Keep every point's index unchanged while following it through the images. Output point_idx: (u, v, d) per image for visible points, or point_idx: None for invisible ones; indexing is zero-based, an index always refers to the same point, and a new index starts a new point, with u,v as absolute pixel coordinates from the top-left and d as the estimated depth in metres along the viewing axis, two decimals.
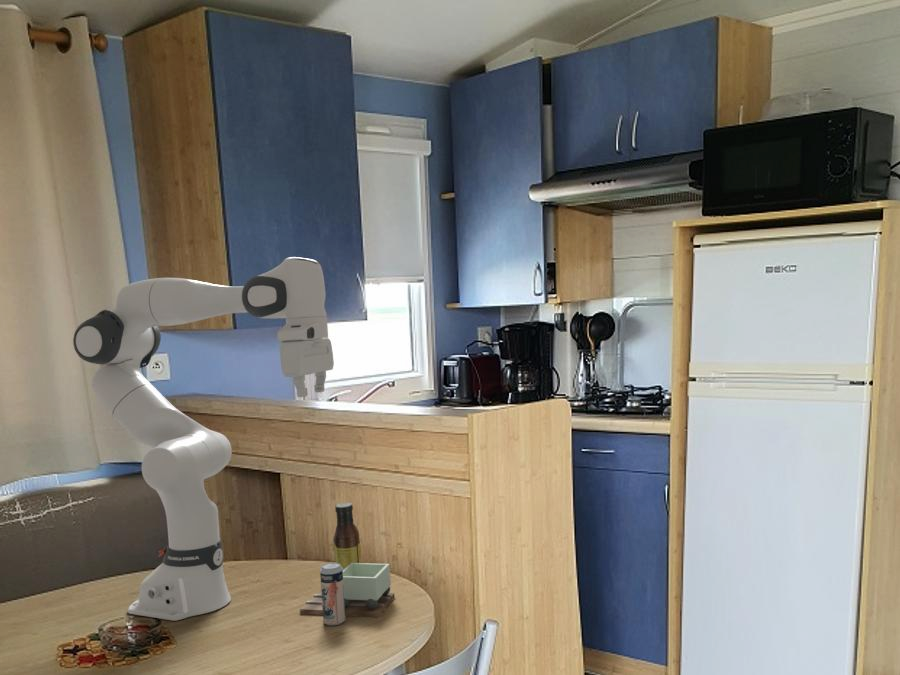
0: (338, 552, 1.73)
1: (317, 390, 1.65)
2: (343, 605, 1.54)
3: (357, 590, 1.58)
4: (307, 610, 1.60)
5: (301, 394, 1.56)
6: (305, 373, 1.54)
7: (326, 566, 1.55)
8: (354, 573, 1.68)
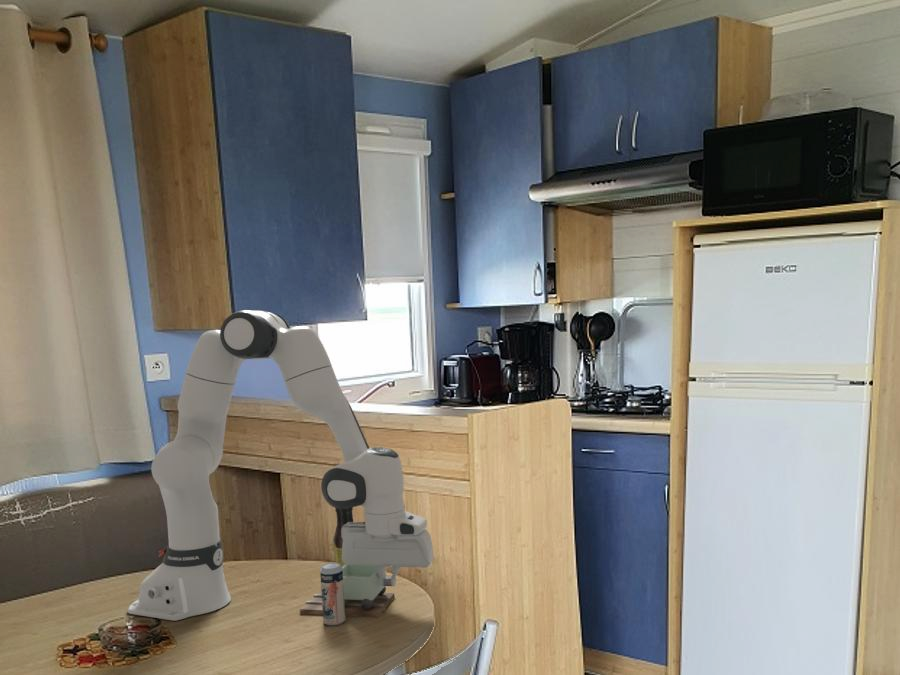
0: (338, 552, 1.73)
1: None
2: (343, 605, 1.54)
3: (352, 590, 1.59)
4: (307, 610, 1.60)
5: (394, 582, 1.61)
6: None
7: (326, 566, 1.55)
8: (350, 573, 1.68)
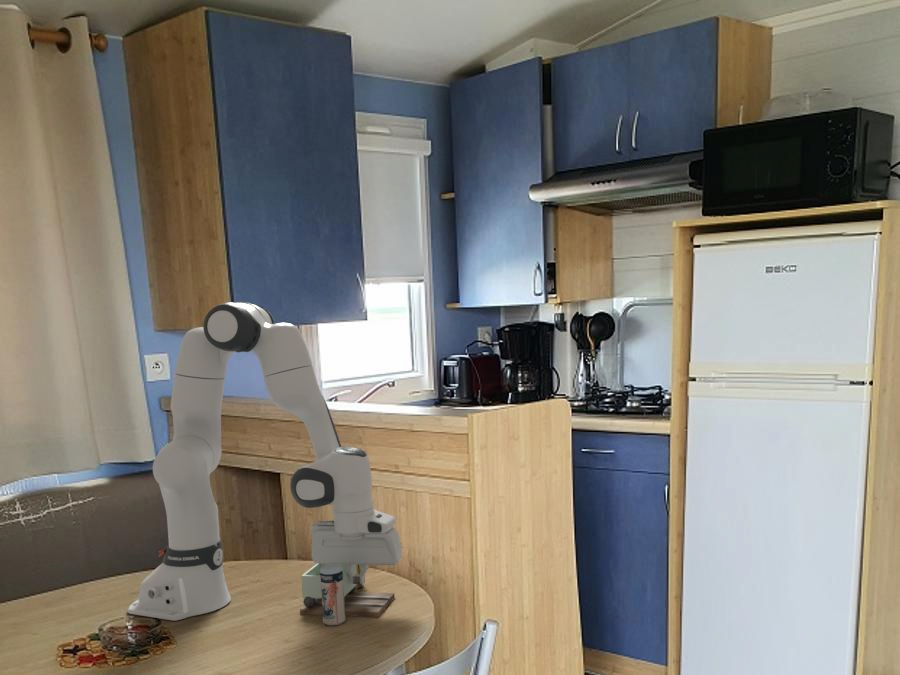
0: None
1: None
2: (343, 605, 1.54)
3: None
4: (307, 610, 1.60)
5: (363, 580, 1.63)
6: None
7: (326, 566, 1.55)
8: None
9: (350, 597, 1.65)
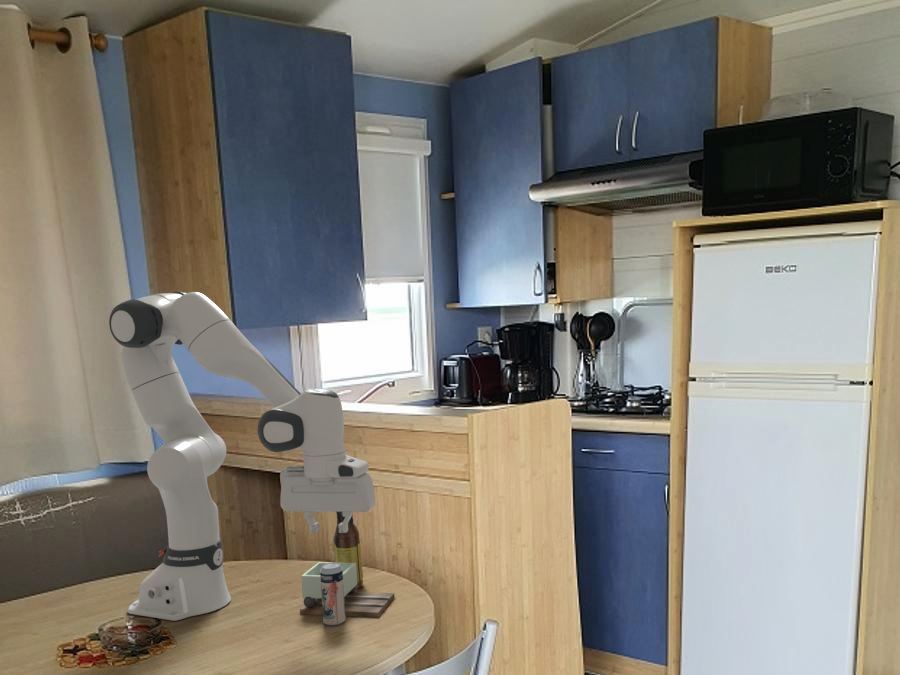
0: (338, 552, 1.73)
1: (317, 529, 1.55)
2: (343, 605, 1.54)
3: None
4: (307, 610, 1.60)
5: (346, 529, 1.54)
6: None
7: (326, 566, 1.55)
8: None
9: (350, 597, 1.65)
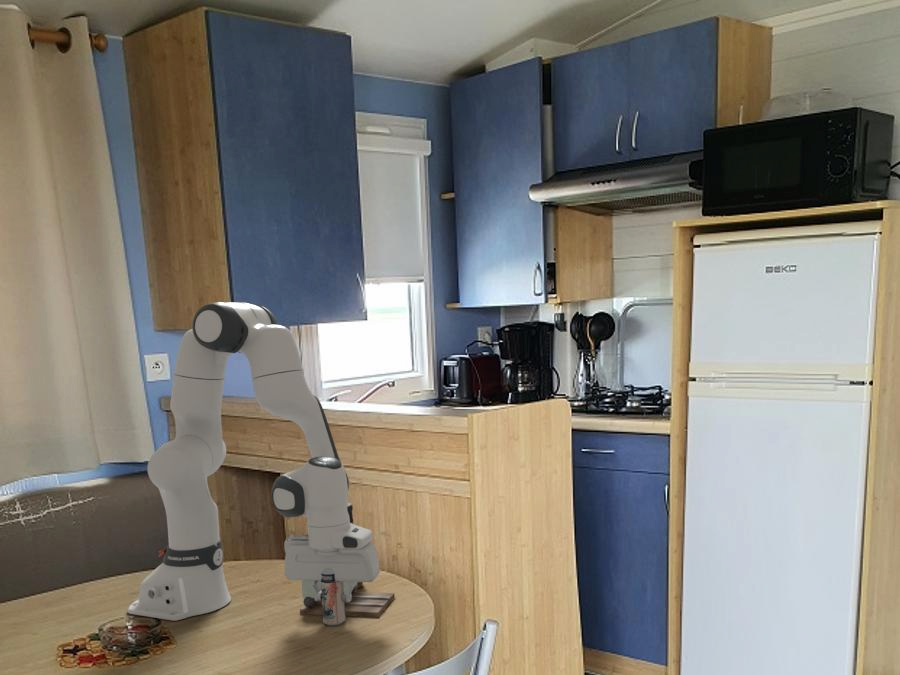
0: None
1: None
2: (343, 605, 1.54)
3: None
4: (307, 610, 1.60)
5: (350, 598, 1.54)
6: None
7: None
8: None
9: None
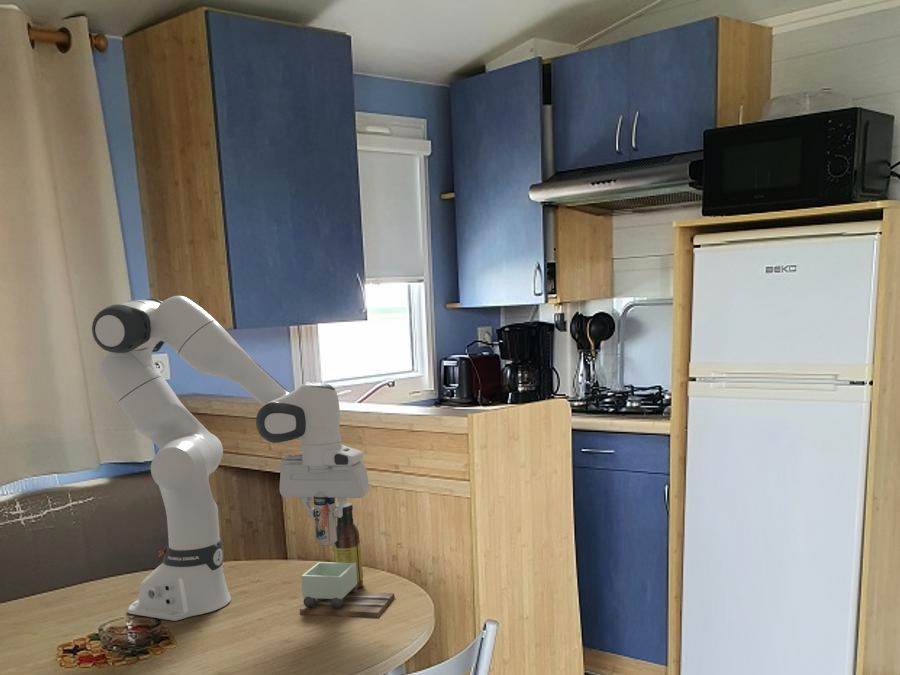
0: (338, 552, 1.73)
1: (314, 514, 1.65)
2: (335, 527, 1.64)
3: (322, 589, 1.60)
4: (307, 610, 1.60)
5: (341, 514, 1.63)
6: None
7: None
8: (321, 572, 1.69)
9: (350, 597, 1.65)
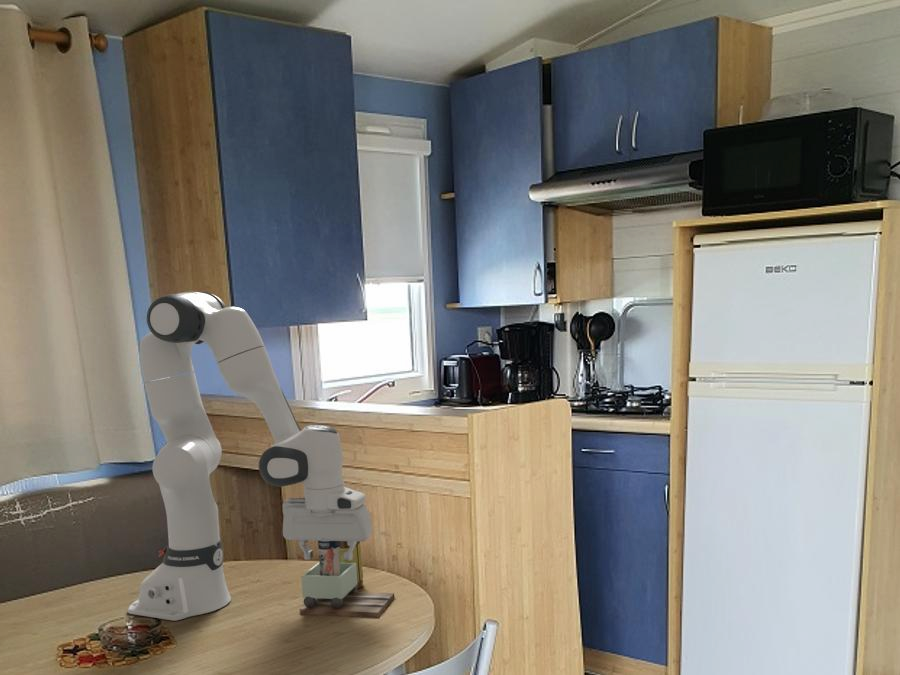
0: None
1: (311, 557, 1.65)
2: (339, 570, 1.64)
3: (322, 589, 1.60)
4: (307, 610, 1.60)
5: (351, 557, 1.63)
6: None
7: None
8: None
9: (350, 597, 1.65)
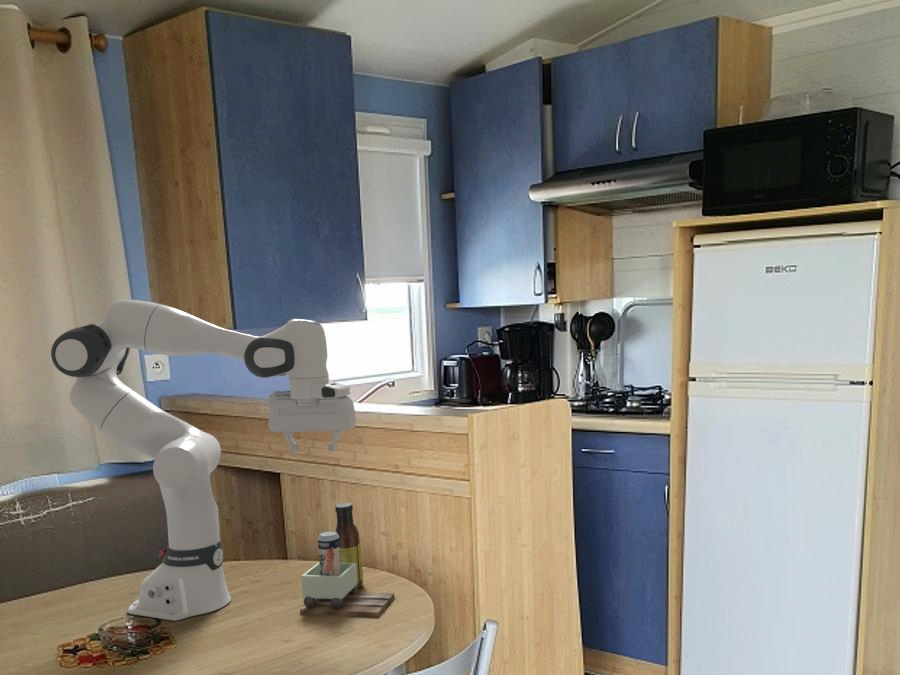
0: None
1: (296, 449, 1.69)
2: (339, 570, 1.64)
3: (322, 589, 1.60)
4: (307, 610, 1.60)
5: (335, 447, 1.67)
6: None
7: (323, 534, 1.65)
8: None
9: (350, 597, 1.65)
